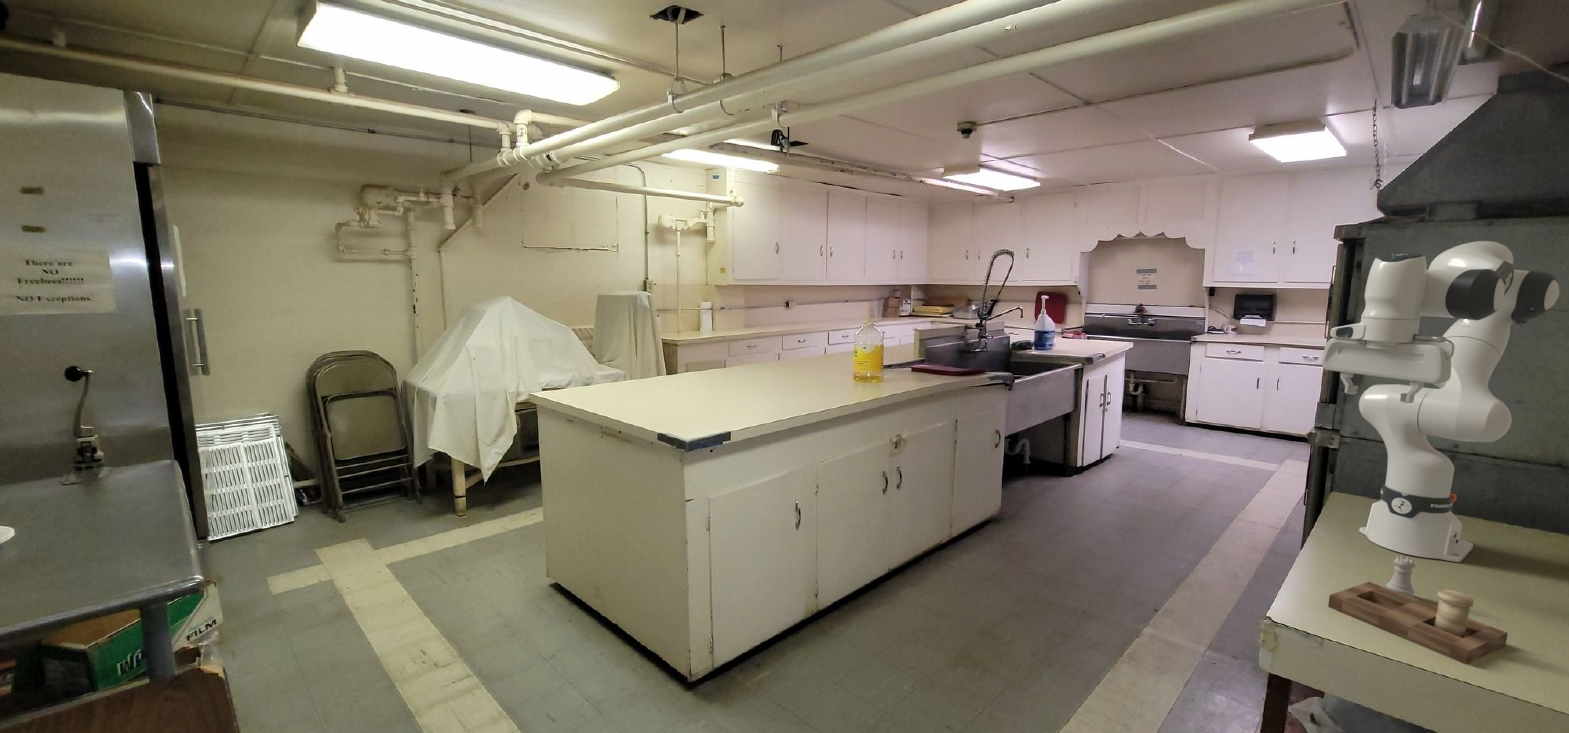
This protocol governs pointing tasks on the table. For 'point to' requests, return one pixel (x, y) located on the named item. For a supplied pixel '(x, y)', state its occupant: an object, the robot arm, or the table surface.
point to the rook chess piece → (1402, 576)
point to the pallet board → (1422, 620)
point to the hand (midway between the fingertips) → (1377, 397)
